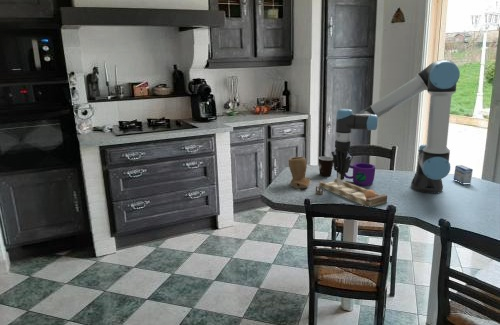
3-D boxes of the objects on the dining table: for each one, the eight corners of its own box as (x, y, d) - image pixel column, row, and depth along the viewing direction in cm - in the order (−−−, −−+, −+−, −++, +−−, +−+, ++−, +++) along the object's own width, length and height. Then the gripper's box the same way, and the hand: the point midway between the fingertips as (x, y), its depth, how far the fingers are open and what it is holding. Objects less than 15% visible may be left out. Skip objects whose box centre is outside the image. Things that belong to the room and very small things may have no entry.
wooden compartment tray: (386, 202, 185) (387, 195, 184) (368, 207, 179) (369, 200, 178) (336, 182, 213) (336, 176, 212) (319, 186, 207) (319, 179, 206)
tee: (323, 193, 196) (324, 187, 195) (318, 195, 194) (319, 188, 193) (319, 191, 199) (319, 185, 198) (314, 193, 197) (315, 186, 196)
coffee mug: (332, 177, 220) (334, 160, 218) (317, 176, 222) (318, 160, 219) (332, 171, 231) (333, 155, 228) (318, 170, 233) (319, 154, 230)
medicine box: (452, 180, 216) (455, 165, 213) (459, 179, 217) (462, 164, 214) (463, 185, 208) (466, 169, 206) (470, 184, 209) (473, 168, 207)
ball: (368, 193, 189) (374, 201, 186) (360, 195, 186) (366, 203, 184) (373, 186, 185) (379, 195, 183) (365, 188, 183) (372, 197, 180)
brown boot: (290, 179, 218) (290, 153, 214) (311, 181, 215) (312, 154, 211) (284, 188, 204) (285, 160, 200) (307, 190, 201) (308, 162, 197)
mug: (376, 182, 213) (377, 164, 210) (370, 188, 204) (372, 169, 201) (345, 177, 222) (346, 160, 219) (338, 182, 212) (339, 165, 210)
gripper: (328, 138, 198) (325, 182, 205) (346, 143, 188) (343, 189, 194) (339, 137, 202) (336, 180, 209) (358, 141, 192) (354, 187, 198)
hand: (339, 184), depth 202 cm, fingers closed
